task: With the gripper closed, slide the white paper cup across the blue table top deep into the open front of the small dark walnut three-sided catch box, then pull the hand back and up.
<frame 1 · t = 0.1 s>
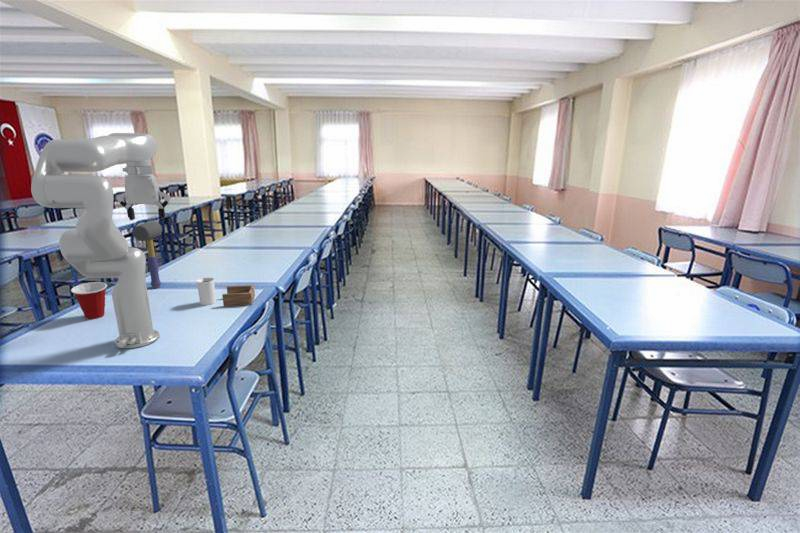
hand: (147, 219, 149), 37 cm above the table, tool pointing down, fingers open, 9 cm apart
rubber mallet: (156, 287, 188), on the table
white paper cup: (208, 303, 171), on the table
plastic cup: (95, 317, 155), on the table
catch box: (239, 300, 174), on the table
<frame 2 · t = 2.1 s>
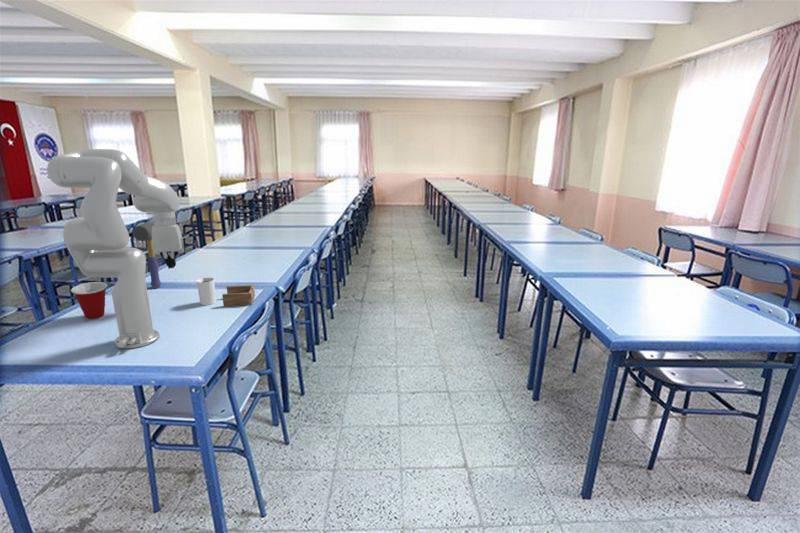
hand: (171, 267, 164), 16 cm above the table, tool pointing down, fingers closed
nothing on the table moved.
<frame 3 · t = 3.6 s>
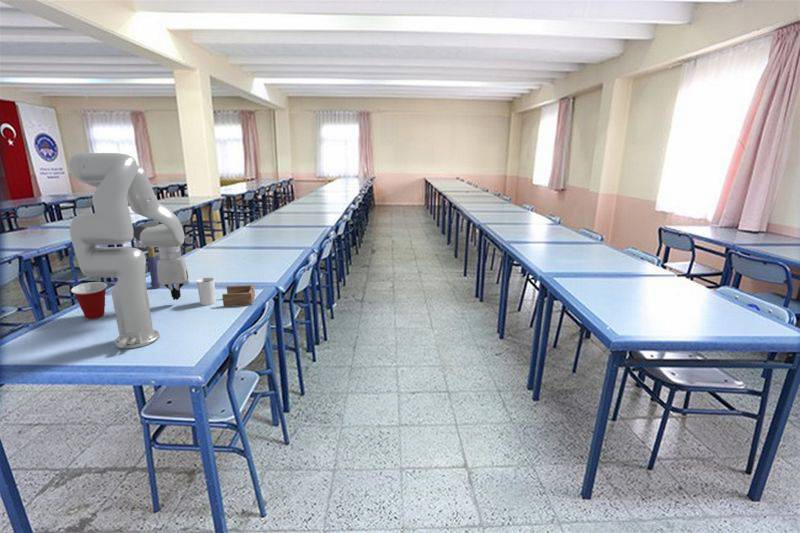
hand: (176, 298, 168), 3 cm above the table, tool pointing down, fingers closed
nothing on the table moved.
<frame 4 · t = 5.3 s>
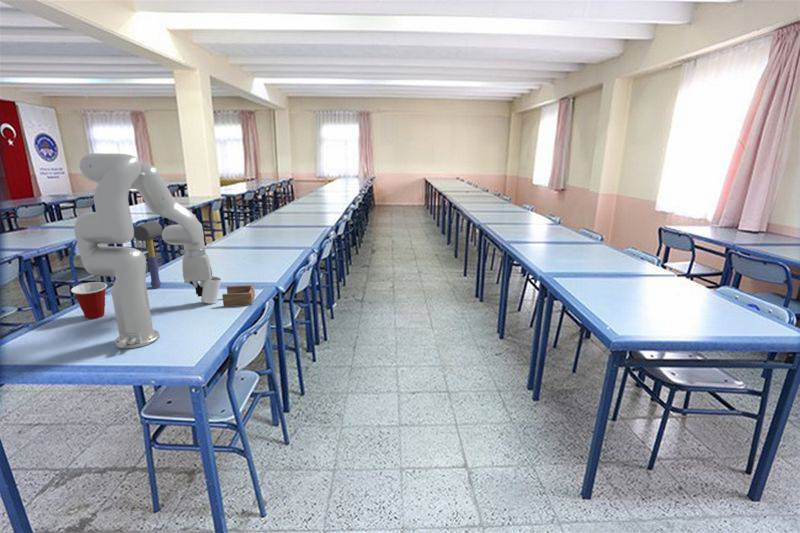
hand: (200, 295, 170), 3 cm above the table, tool pointing down, fingers closed
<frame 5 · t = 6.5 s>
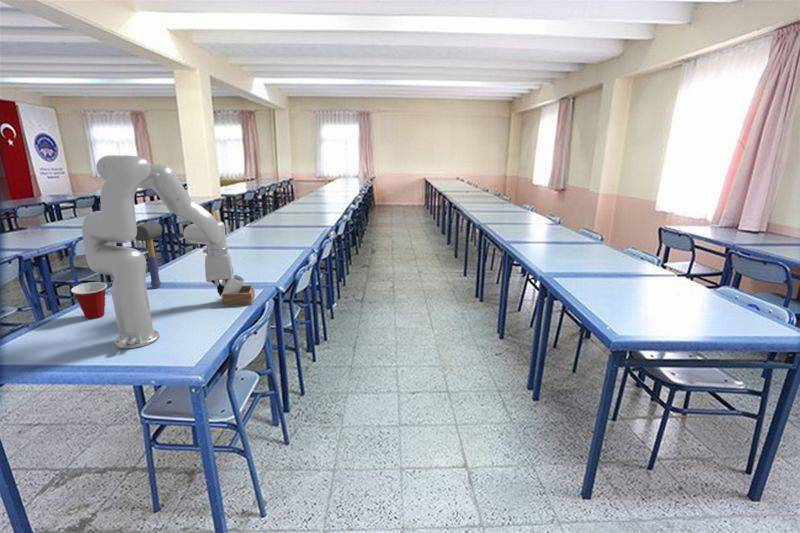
hand: (222, 294, 172), 3 cm above the table, tool pointing down, fingers closed
white paper cup: (226, 298, 172), point 1 cm above the table, touching gripper
everything else where it was.
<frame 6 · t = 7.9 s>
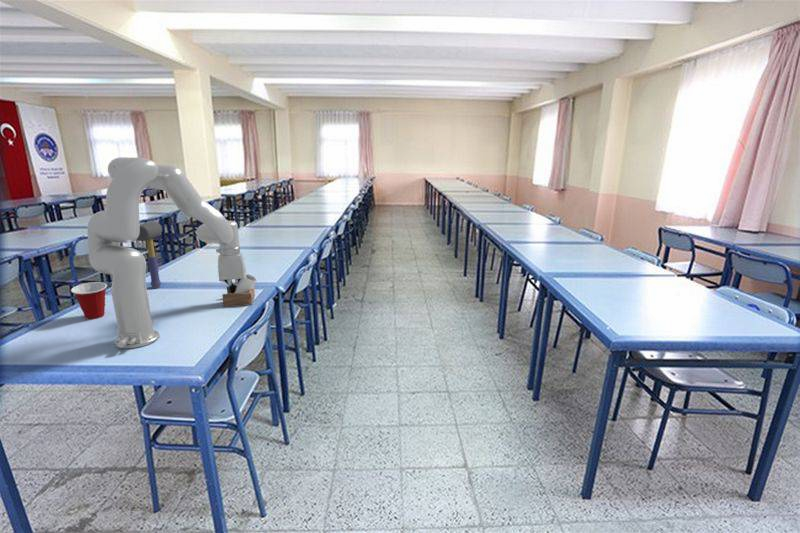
hand: (234, 293, 173), 3 cm above the table, tool pointing down, fingers closed
white paper cup: (238, 298, 173), point 1 cm above the table, touching gripper
everything else where it was.
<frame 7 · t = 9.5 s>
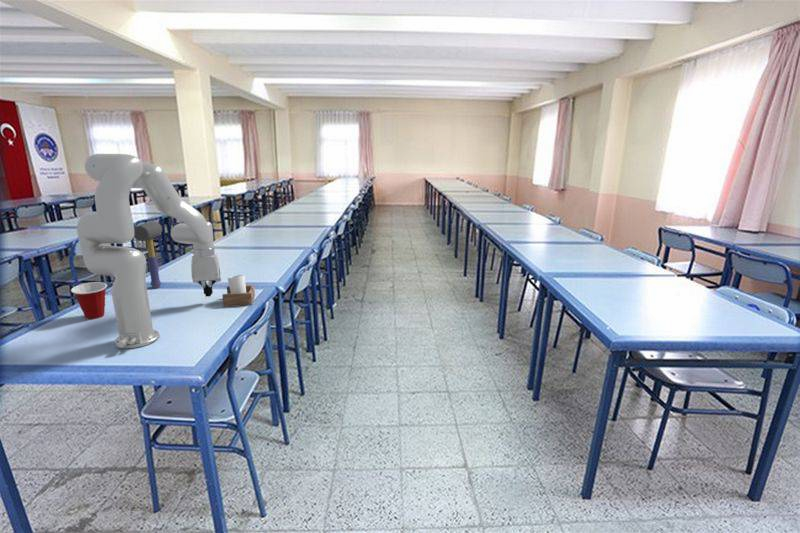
hand: (208, 295, 170), 3 cm above the table, tool pointing down, fingers closed
white paper cup: (239, 300, 173), resting in catch box
everything else where it was.
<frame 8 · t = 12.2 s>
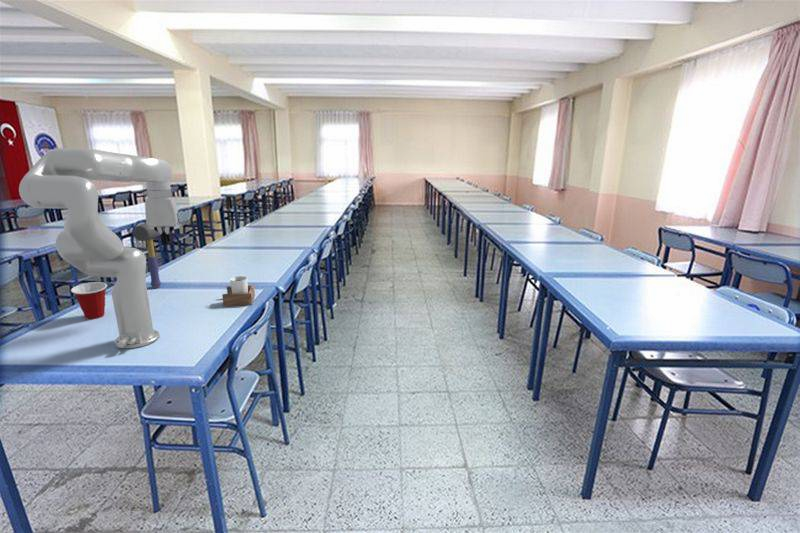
hand: (166, 244, 154), 27 cm above the table, tool pointing down, fingers closed
at the end: white paper cup 0.8 cm from the target spot on the catch box, point 0.0 cm above the catch box's base; white paper cup tilted 1° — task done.
